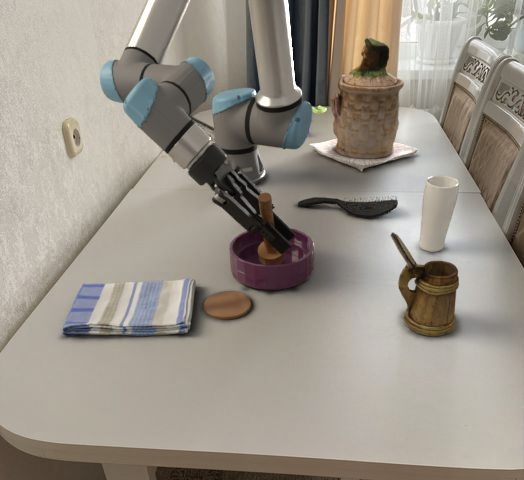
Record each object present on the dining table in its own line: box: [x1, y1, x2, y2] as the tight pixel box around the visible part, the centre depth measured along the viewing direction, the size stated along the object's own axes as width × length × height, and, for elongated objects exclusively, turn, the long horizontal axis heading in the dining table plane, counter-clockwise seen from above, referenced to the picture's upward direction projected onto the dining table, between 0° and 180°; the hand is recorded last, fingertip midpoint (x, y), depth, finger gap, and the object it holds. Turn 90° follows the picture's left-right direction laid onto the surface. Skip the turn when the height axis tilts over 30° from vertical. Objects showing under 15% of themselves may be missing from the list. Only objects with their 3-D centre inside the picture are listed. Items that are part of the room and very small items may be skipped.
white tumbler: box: [418, 175, 460, 253], centre depth 117 cm, size 7×7×15 cm
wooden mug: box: [390, 232, 460, 337], centre depth 94 cm, size 9×14×18 cm, turn 88°
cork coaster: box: [203, 290, 252, 321], centre depth 105 cm, size 9×9×1 cm
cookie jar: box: [309, 37, 418, 172], centre depth 160 cm, size 25×25×32 cm
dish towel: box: [62, 278, 197, 337], centre depth 104 cm, size 17×24×3 cm
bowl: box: [229, 227, 315, 291], centre depth 114 cm, size 17×17×6 cm
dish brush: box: [258, 192, 285, 265], centre depth 108 cm, size 5×5×18 cm
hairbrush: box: [297, 195, 399, 219], centre depth 137 cm, size 8×4×25 cm
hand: (288, 243), depth 107 cm, fingers closed on dish brush, 4 cm apart
